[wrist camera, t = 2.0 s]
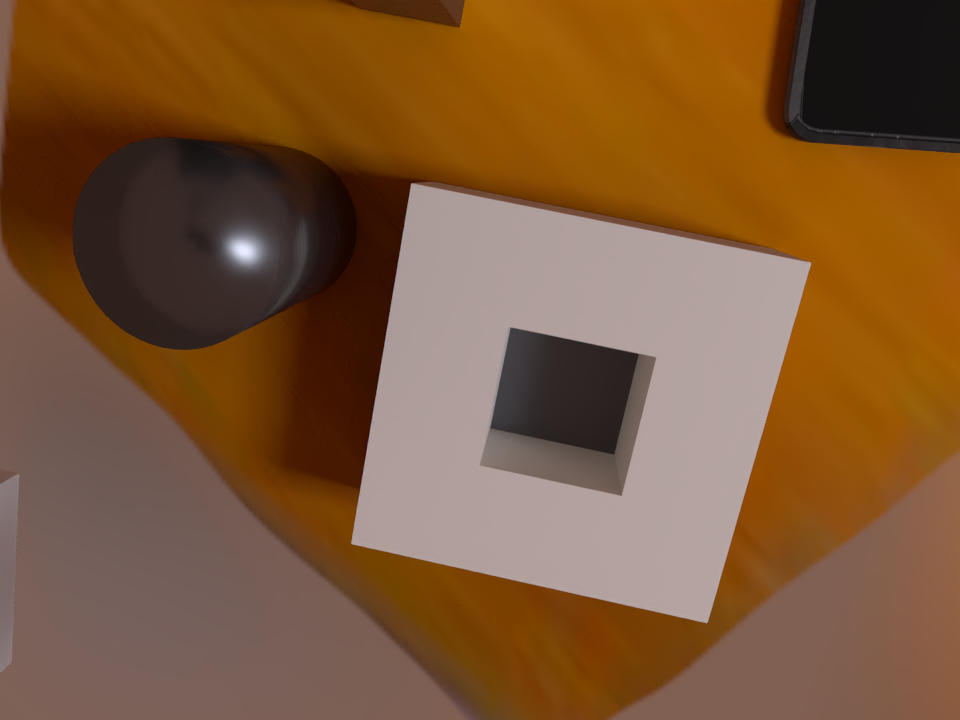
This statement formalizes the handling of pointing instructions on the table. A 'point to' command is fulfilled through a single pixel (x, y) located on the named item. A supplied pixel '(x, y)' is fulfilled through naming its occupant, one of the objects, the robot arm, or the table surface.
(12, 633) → the robot arm
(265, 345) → the table surface
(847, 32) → the phone
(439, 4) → the square bit
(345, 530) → the table surface
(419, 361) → the socket block
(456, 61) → the table surface
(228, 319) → the cylinder
